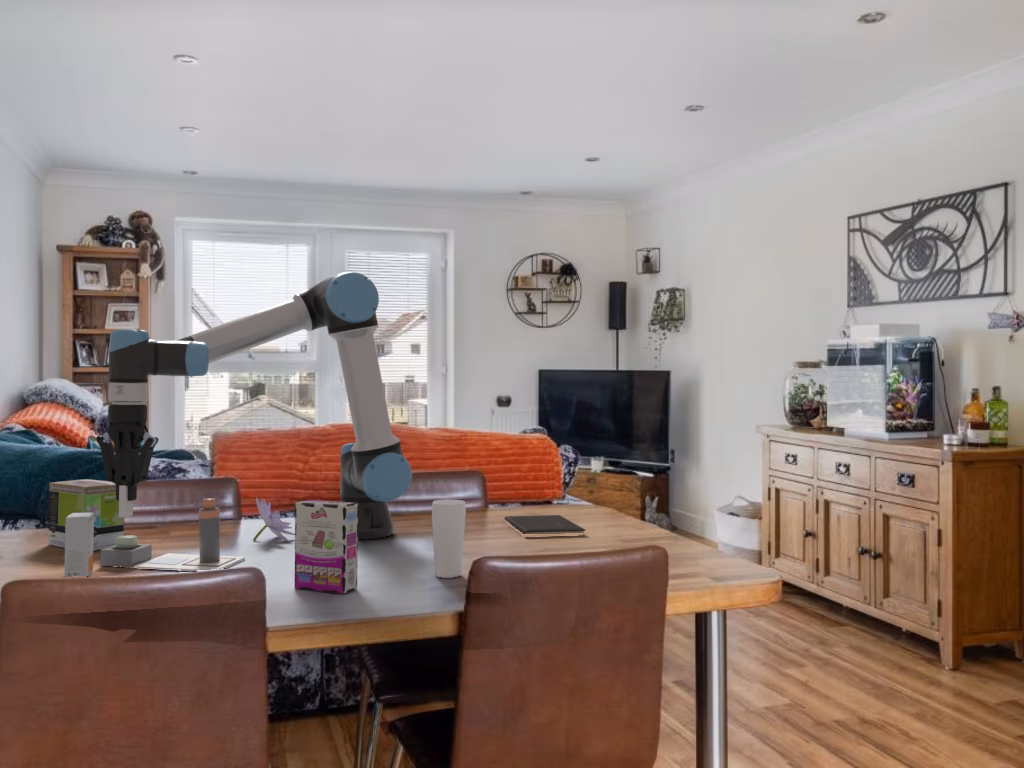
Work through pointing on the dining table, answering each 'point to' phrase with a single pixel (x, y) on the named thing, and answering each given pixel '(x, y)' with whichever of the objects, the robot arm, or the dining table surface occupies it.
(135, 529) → the dining table surface
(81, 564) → the skincare box
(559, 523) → the hardcover book
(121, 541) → the button
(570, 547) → the dining table surface
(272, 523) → the water lily
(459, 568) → the drinking glass
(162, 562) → the board
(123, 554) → the button housing
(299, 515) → the candy bar box
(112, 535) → the tea box
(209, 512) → the grey and orange bottle
